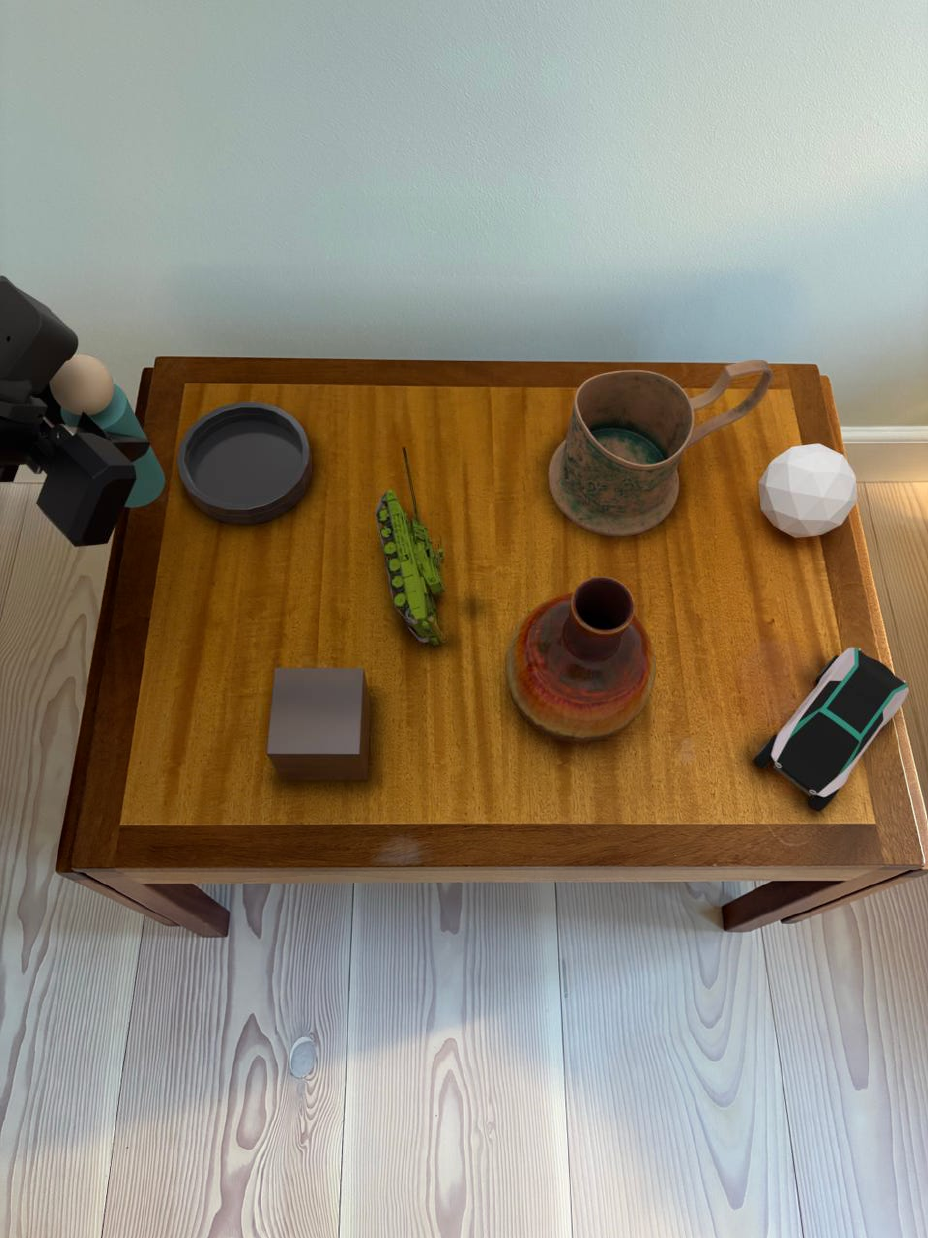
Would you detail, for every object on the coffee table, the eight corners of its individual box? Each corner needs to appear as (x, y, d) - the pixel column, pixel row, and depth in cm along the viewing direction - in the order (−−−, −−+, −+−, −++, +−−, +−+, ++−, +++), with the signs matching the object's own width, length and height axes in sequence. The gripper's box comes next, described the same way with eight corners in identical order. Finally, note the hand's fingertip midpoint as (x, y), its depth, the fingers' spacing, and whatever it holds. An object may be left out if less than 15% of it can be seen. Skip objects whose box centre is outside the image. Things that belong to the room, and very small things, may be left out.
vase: (655, 745, 69) (710, 672, 55) (515, 766, 68) (534, 696, 54) (623, 617, 74) (665, 519, 60) (491, 635, 73) (503, 539, 59)
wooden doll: (176, 484, 69) (120, 365, 57) (130, 518, 68) (61, 404, 56) (142, 450, 71) (80, 327, 58) (96, 483, 69) (22, 364, 57)
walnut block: (367, 781, 67) (359, 754, 61) (282, 780, 67) (265, 754, 61) (371, 701, 70) (364, 667, 64) (289, 700, 70) (274, 667, 64)
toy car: (893, 705, 71) (926, 681, 66) (812, 817, 67) (841, 800, 62) (830, 659, 73) (857, 632, 68) (747, 765, 69) (770, 745, 64)
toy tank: (370, 633, 67) (499, 598, 66) (334, 431, 75) (449, 398, 74) (394, 665, 73) (512, 633, 72) (358, 476, 81) (464, 446, 80)
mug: (761, 500, 79) (812, 414, 68) (575, 551, 76) (597, 470, 65) (707, 400, 84) (747, 304, 73) (530, 444, 81) (544, 352, 70)
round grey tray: (308, 525, 77) (304, 510, 75) (177, 524, 77) (169, 508, 74) (316, 420, 82) (313, 402, 79) (193, 418, 81) (186, 400, 79)
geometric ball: (763, 551, 73) (728, 494, 79) (844, 560, 76) (805, 504, 81) (809, 475, 69) (768, 420, 74) (895, 487, 71) (849, 432, 76)
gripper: (45, 391, 45) (257, 408, 58) (-145, 200, 50) (89, 256, 64) (-19, 562, 50) (191, 541, 63) (-187, 371, 55) (40, 390, 68)
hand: (127, 428), depth 64 cm, fingers closed on wooden doll, 4 cm apart
